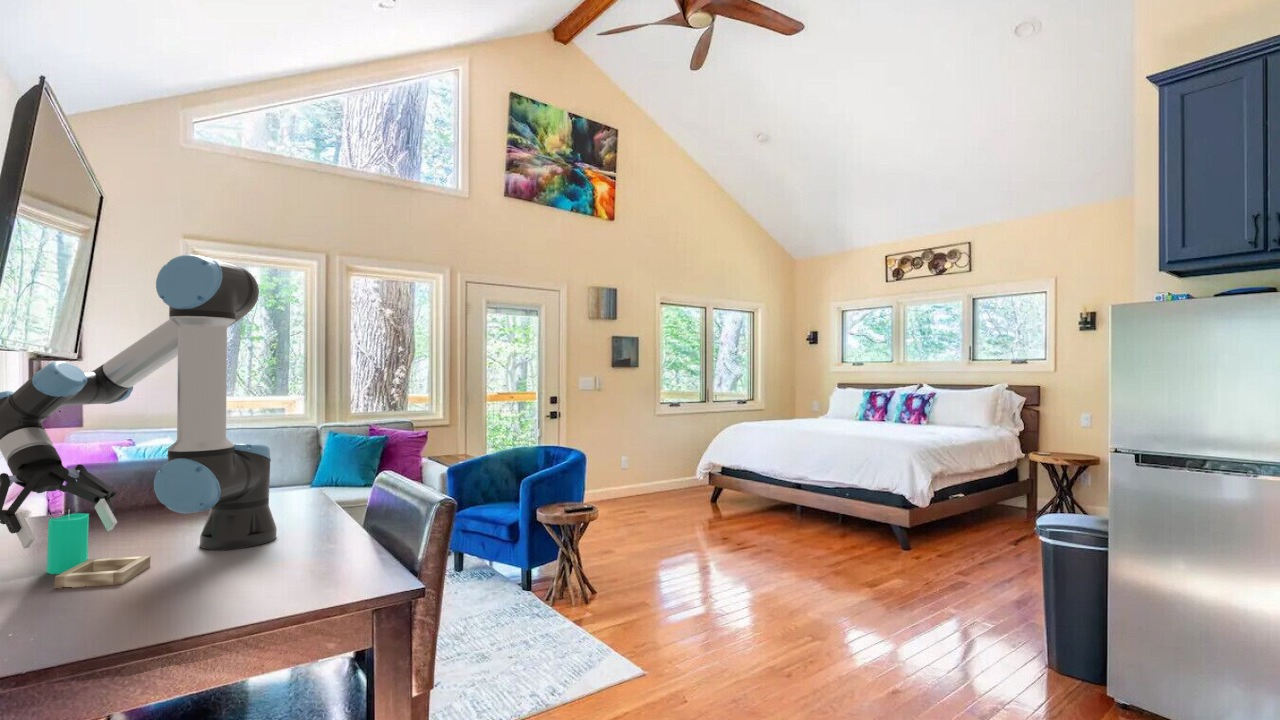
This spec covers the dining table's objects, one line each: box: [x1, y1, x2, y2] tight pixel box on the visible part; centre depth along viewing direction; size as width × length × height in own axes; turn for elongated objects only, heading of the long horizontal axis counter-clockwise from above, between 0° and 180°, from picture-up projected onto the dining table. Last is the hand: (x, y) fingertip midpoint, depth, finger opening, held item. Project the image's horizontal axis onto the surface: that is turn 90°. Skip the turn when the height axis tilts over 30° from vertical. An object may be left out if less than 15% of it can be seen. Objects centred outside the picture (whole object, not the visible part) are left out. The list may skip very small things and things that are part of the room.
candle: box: [46, 509, 90, 575], centre depth 123 cm, size 6×6×12 cm
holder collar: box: [53, 555, 152, 589], centre depth 119 cm, size 10×10×2 cm
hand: (73, 534), depth 122 cm, fingers open, 13 cm apart
